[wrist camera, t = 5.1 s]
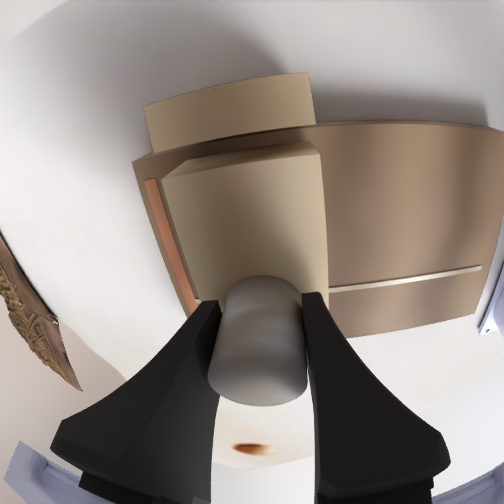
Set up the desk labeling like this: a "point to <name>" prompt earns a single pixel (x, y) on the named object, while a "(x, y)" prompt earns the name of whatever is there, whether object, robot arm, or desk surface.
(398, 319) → the board
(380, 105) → the desk surface
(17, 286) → the wooden fragment
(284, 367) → the beige block with knob
